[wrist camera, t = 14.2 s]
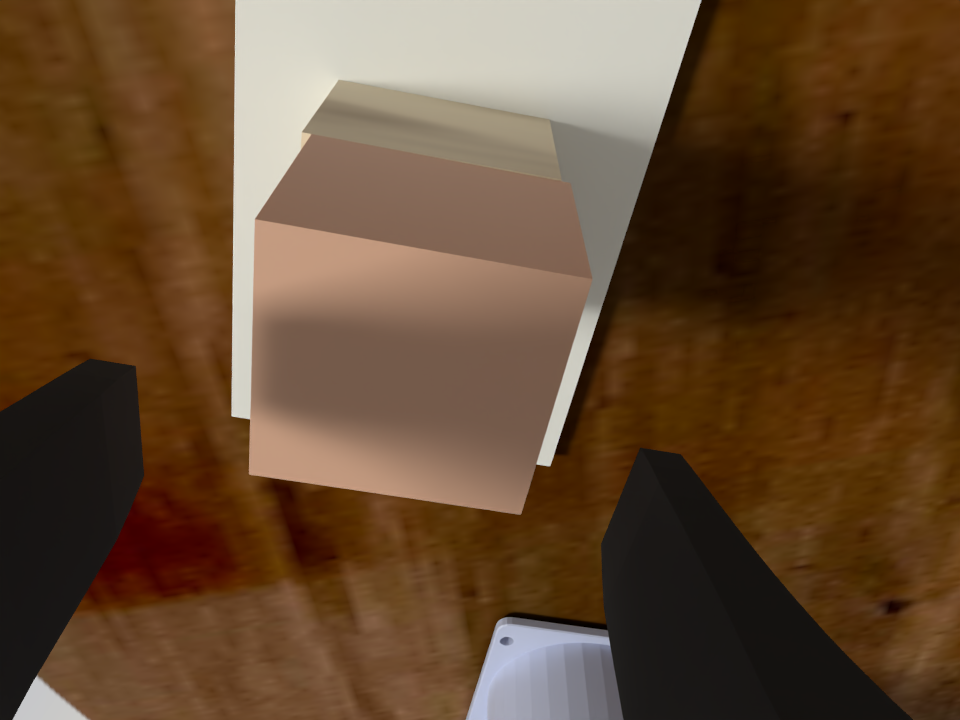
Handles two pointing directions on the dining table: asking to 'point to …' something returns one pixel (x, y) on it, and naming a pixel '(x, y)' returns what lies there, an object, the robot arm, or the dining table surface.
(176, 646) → the dining table surface
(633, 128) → the mat
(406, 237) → the terracotta brick
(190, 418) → the dining table surface
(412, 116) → the ash brick
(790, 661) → the robot arm
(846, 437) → the dining table surface
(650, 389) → the dining table surface
